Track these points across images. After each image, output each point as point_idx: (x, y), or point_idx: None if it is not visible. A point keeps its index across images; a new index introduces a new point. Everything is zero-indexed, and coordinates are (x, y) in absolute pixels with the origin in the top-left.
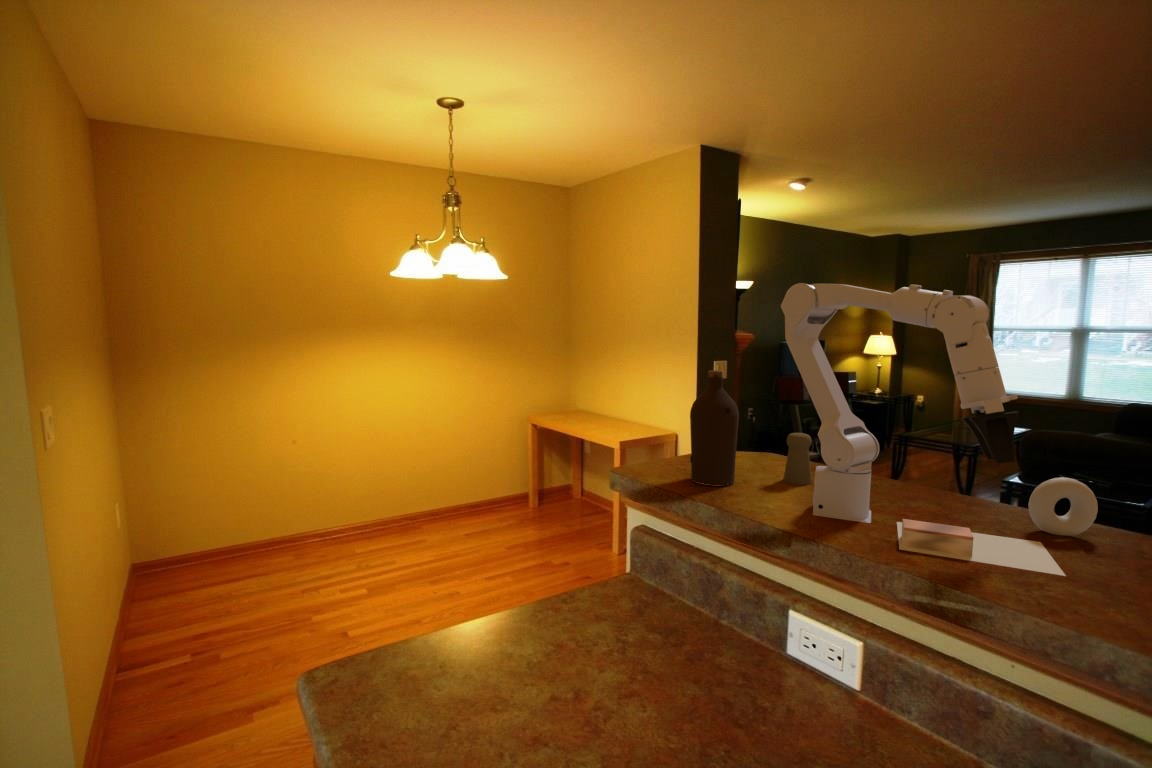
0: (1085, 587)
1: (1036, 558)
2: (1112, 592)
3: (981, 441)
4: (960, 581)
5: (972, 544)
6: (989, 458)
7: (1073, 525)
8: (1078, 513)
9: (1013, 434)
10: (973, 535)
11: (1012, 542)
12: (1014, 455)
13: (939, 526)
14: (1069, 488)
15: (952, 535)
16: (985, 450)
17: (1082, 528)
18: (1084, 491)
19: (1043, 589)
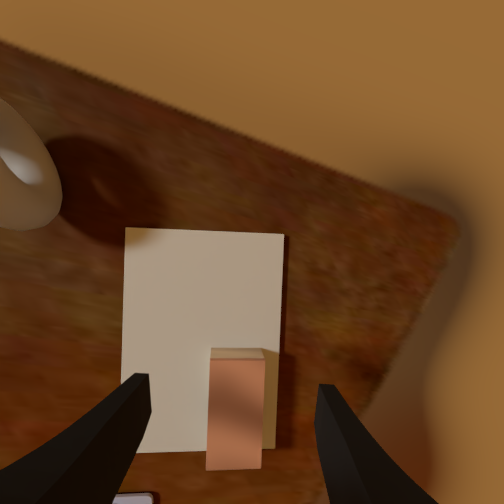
0: (298, 216)
1: (221, 255)
2: (301, 188)
3: (117, 483)
4: (350, 369)
5: (262, 356)
6: (151, 410)
7: (42, 154)
8: (13, 135)
9: (397, 465)
10: (141, 330)
11: (151, 273)
12: (339, 394)
13: (225, 409)
14: None
15: (263, 390)
16: (138, 442)
17: (40, 140)
18: None
19: (331, 272)
